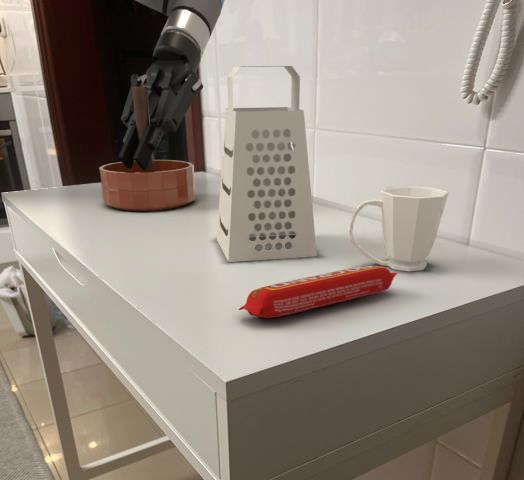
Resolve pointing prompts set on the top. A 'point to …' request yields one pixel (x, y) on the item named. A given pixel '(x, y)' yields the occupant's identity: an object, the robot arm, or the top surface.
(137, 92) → the wooden pestle
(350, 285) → the candy bar
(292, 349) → the top surface
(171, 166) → the bowl
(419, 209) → the cup
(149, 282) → the top surface
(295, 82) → the grater
